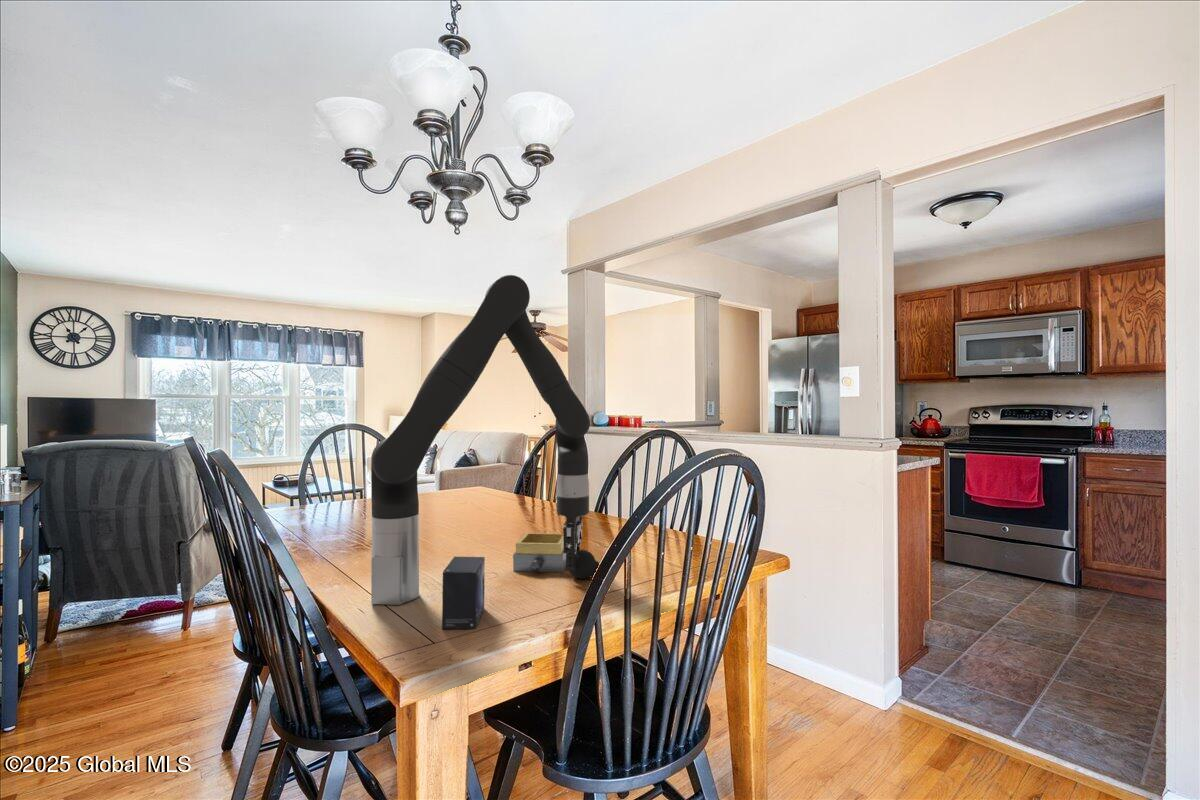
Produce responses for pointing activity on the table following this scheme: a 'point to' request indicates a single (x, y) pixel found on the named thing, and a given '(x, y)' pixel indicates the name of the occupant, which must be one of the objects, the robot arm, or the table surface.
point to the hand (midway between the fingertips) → (573, 565)
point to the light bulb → (584, 565)
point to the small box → (463, 592)
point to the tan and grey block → (540, 553)
